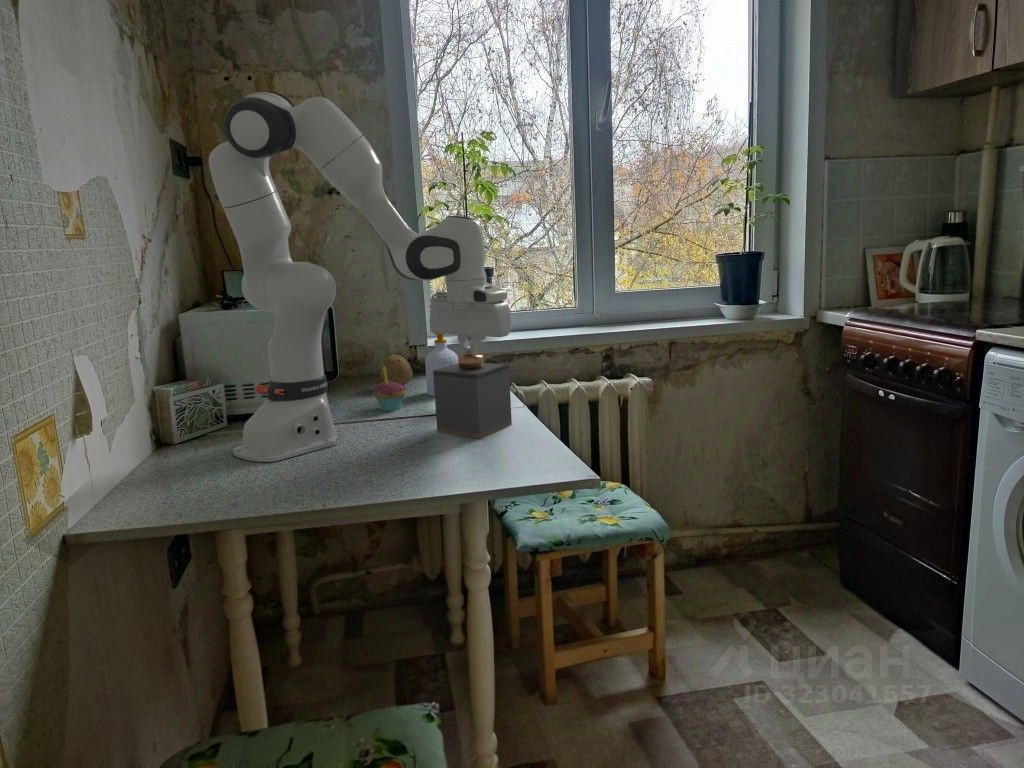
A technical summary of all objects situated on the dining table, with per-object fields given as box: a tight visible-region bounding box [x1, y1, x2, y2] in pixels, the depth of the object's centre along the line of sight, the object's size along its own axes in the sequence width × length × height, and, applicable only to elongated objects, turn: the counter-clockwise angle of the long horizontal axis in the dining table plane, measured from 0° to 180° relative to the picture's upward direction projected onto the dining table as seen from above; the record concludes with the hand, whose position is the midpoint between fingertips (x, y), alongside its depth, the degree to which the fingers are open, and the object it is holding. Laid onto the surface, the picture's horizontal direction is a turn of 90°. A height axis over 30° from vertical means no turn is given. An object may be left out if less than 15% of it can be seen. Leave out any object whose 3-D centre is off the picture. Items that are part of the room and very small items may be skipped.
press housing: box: [433, 362, 513, 439], centre depth 158 cm, size 12×12×14 cm
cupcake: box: [372, 364, 407, 412], centre depth 179 cm, size 9×8×12 cm
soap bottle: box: [424, 304, 458, 398], centre depth 192 cm, size 9×9×25 cm
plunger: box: [457, 352, 484, 369], centre depth 157 cm, size 10×10×15 cm
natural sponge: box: [379, 354, 414, 387], centre depth 202 cm, size 9×9×10 cm
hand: (470, 355), depth 156 cm, fingers closed, pressing on plunger
